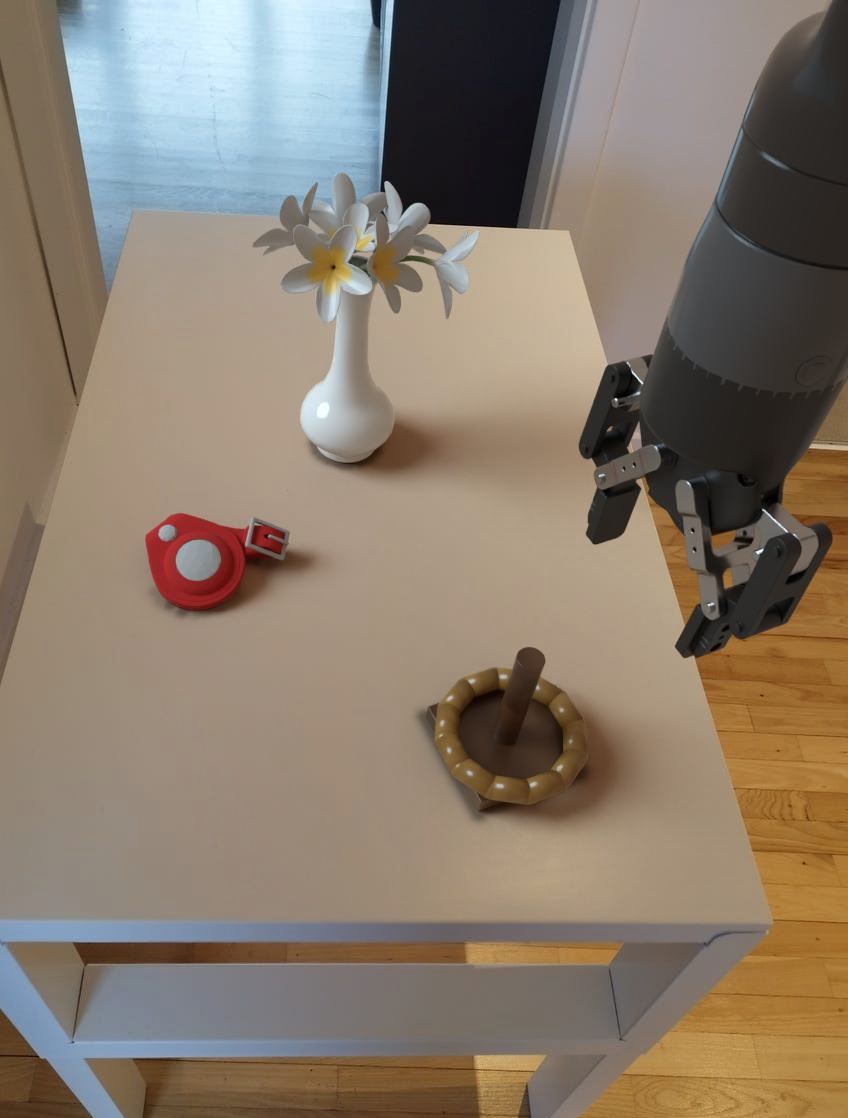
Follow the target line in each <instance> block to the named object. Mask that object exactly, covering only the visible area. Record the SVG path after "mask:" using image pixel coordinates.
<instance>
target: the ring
mask: <svg viewBox="0 0 848 1118" xmlns="http://www.w3.org/2000/svg"><path fill="white" fill-rule="evenodd" d="M511 671H512V668H508V667H507V668H505V667H498V666H494V667H489V668H487V669H485V670H482V671H478V672H474V673H472V674H470V675H469V674H468V675H466V676H463V677H461V678H459V679H458V680H457V681H456V683H454V685H453V686H452V687H451V688H450V690H449V691H448V692H447V693H446V694H445V695H444V696H443V698H442V699H441V700H440V701H439V702H438V703H439V704H438V706H437V713H436V725H435V732H434V737H433V740H434V745H435V746H436V748H437V750H438V752H439V754H440V756H441V757H442V759H443V761H444V764H445V765H446V767H447V768H448V770H449V773H450V775H452V777H453V778H455V779H456V780H457V781H459V782H460V783H462V784H463V783H464V784H465V785H467V786H468V787H470V788H471V789H473V790H474V791H476V792H477V793H479V794H480V795H482V796H483V797H485V798H486V799H489V800H495V801H503V802H502V803H511V804H519V805H526V806H529V805H533V804H536V803H539V802H541V801H544V800H547V799H549V798H552V797H554V796H557V795H559V794H562V793H564V792H566V791H567V790H568V789H569V788H570V786H571V785H572V784H573V782H574V781H575V779H576V778H577V776H578V775H579V773H580V772H581V770H583V768H584V766H585V765H586V763H587V762H588V756H589V755H588V754H589V753H588V752H589V751H588V727H587V722H586V720H585V718H584V717H583V716H582V714H581V713H580V711H579V709H578V708H577V707H576V705H575V703H574V702H573V700H572V699H571V697H570V695H568V693H567V692H566V691H565V690H563V689H562V688H560V687H559V686H557V685H556V684H554V683H552V682H550V681H549V680H547V679H545V677H542V676H540V679H539V681H538V684H537V687H536V689H535V692H534V695H533V699H535V700H536V701H538V702H539V703H541V704H543V705H544V706H546V707H548V708H549V709H550V711H551V712H552V714H553V715H554V717H555V719H556V720H557V722H558V723H559V725H560V726H561V728H562V730H563V753H562V755H561V756H560V757H559V759H558V760H557V762H556V763H555V764H554V766H553V767H552V769H551V770H550V771H547V772H544V773H542V774H539V775H536V776H534V777H531V778H528V779H518V778H511V777H503V776H496V775H494V774H493V773H491V772H490V771H488V770H487V769H485V768H484V767H482V766H481V765H479V764H478V763H476V762H475V761H473V760H472V759H471V758H470V756H469V755H468V753H467V751H466V749H465V747H464V746H463V744H462V742H461V740H460V739H459V737H458V735H459V720H460V714H461V713H462V712H463V710H464V709H465V708H466V707H467V705H468V704H469V703H470V702H471V701H472V699H473V698H475V697H478V696H481V695H484V694H487V693H490V692H493V691H496V690H501V691H505V690H506V687H507V684H508V681H509V678H510V674H511Z"/></svg>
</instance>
